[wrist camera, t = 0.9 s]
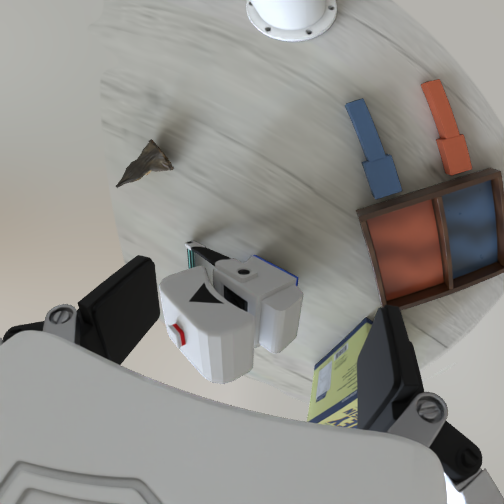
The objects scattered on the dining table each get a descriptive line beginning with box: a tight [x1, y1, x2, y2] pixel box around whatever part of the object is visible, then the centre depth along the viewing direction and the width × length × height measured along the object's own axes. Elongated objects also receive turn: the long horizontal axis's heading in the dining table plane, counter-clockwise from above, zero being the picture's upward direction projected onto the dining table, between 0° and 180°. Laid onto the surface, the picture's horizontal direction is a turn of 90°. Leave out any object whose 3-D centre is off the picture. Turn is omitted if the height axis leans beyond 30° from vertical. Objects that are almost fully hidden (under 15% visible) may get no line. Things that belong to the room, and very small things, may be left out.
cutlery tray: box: [356, 168, 504, 311], centre depth 33 cm, size 17×24×3 cm
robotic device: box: [159, 241, 303, 384], centre depth 40 cm, size 10×21×20 cm
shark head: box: [116, 139, 174, 188], centre depth 38 cm, size 8×6×7 cm
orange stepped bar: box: [421, 79, 472, 176], centre depth 27 cm, size 13×4×2 cm, turn 25°
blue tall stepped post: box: [345, 99, 402, 199], centre depth 32 cm, size 13×4×2 cm, turn 25°
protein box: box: [307, 318, 373, 429], centre depth 40 cm, size 10×16×16 cm
